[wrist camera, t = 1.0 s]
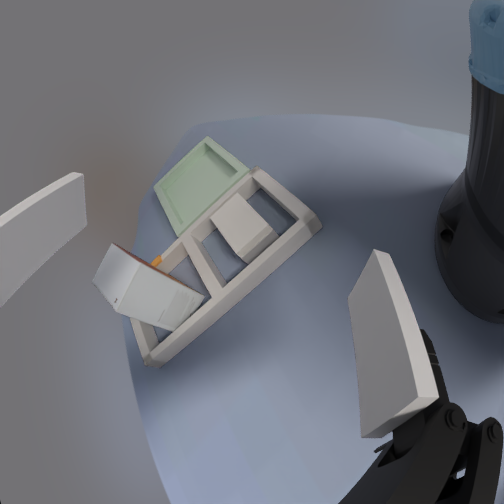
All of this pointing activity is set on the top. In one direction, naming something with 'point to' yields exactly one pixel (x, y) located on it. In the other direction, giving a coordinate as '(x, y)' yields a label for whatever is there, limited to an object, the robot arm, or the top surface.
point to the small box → (144, 290)
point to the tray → (198, 183)
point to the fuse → (244, 228)
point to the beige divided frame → (212, 278)
